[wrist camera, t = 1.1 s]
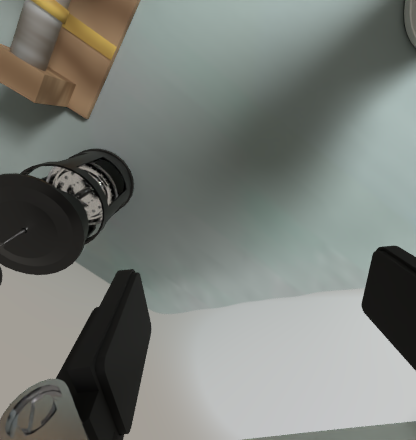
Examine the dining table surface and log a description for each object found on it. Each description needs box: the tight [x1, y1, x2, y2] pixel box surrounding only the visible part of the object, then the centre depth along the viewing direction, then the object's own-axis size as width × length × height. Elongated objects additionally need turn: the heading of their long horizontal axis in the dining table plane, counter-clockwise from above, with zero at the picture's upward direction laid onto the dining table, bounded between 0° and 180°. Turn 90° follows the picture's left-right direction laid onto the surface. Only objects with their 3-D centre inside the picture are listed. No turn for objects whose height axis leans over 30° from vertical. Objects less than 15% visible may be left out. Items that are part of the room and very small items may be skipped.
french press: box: [0, 149, 134, 285], centre depth 24 cm, size 12×9×23 cm
